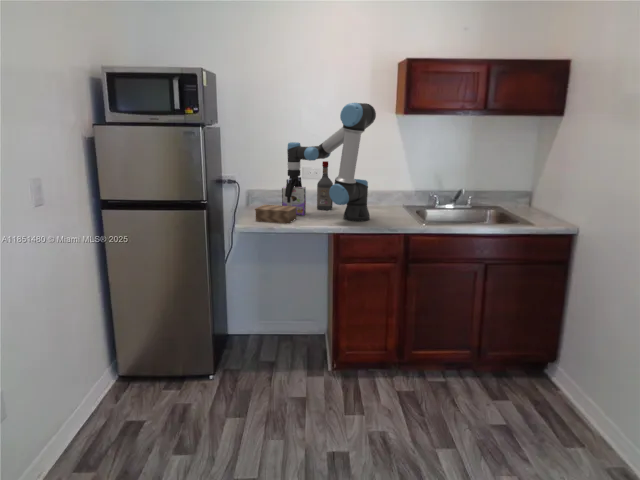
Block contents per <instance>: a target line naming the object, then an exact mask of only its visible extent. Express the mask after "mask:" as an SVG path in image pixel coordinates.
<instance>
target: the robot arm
mask: <svg viewBox="0 0 640 480" xmlns="http://www.w3.org/2000/svg"><path fill="white" fill-rule="evenodd" d="M376 117H377V111H376V110H375V107H374V106H373V105H372V104H370V103H366V102H365V103H364V102H363V103H361V102H349V103H347V104H345V105H344V107H342V109H341V111H340V121H341V123H342V127H341V128H339V129H338V130H336V131H335V132H334V133H333V134H332V135H330V136H329V137H328V138H326V139H325V140H324V141H322V143H319V145H312V146H302V145H301V142H296V141H295V142H291V141H290V142H288V143H287V147H286V148H287V149H286V150H287V151H286V153H287V176H288V177H289V178H287V179H286V185H285V187H286V191H285V197H287V206H292V197H291V195H292V191H293V187H303V186H302V185H303V184H302V177H301V160H303V161H310V162H311V161H316V160H320V159H321V160H324V159H327V158H329V157H330V156H331V154H332V152H334V151H335V150H336V149H338V148H339V147H340V146H342V150H341V157H340V163H339V164H340V165H339V170H338V176H336V177H335V179H334V183H333V185H332V186H331V188H330V190H329V195H330V198H331V199H332V201H333V203H334V204H335V205H338V206H344V205H346V207H345V210H344V212H343V219H344V220H345V221H349V222H366V221H370V219H371V218H370V217H371V216H370V211H369V208H368V195H369V193H368V192H369V191H368V190H369V189H368V188H369V184H368V183H369V181H368V180H366V179H358V178H355V175H356V169H357V161H358V156H359V149H360V143H361V137H362V136H361V135H362V134H363V133H365V131H366V129H367V128H369V127H370V126H371V125H372V124H373V123H374V122H375V120H376Z"/></svg>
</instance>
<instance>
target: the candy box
mask: <svg viewBox="0 0 640 480" xmlns="http://www.w3.org/2000/svg"><path fill="white" fill-rule="evenodd" d="M306 189H307V188H306V186H302V187H295V186H294V187H293V191H292V195H291V197H292V206H296V207H297V208H296V216H305V215H306V214H307V211H306V210H307V197H306V196H307V191H306ZM285 191H286V186H283V187H281V206H287V197H285Z"/></svg>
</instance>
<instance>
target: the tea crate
mask: <svg viewBox="0 0 640 480" xmlns="http://www.w3.org/2000/svg"><path fill="white" fill-rule="evenodd" d="M296 208H297V207H296V206H282V205H277V204H276V205H275V204H262V205H261V206H258V207H256V208H254V211H255V222H259V223H261V222H262V223H263V222H264V223H275V224H276V223H277V224H287V223H289V224H291V223H292V222H293V221H295V220H297V215H296ZM294 219H295V220H294ZM291 221H292V222H291Z"/></svg>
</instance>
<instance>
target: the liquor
mask: <svg viewBox="0 0 640 480" xmlns="http://www.w3.org/2000/svg"><path fill="white" fill-rule="evenodd" d="M321 166H322V176H321V178H320V179H319V180H318V182H317V184H316V185H317V186H316V190H317V192H316V208H317V211H318V210H319V211H331V210H332V209H333V203H334V202H333V201H332V199H331V198H330V195H329V190H330V188H331V186H332V185H334V183H333V181H332V180H331V178H329V174H328V173H329V161H327V160H326V161H322V165H321Z"/></svg>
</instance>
